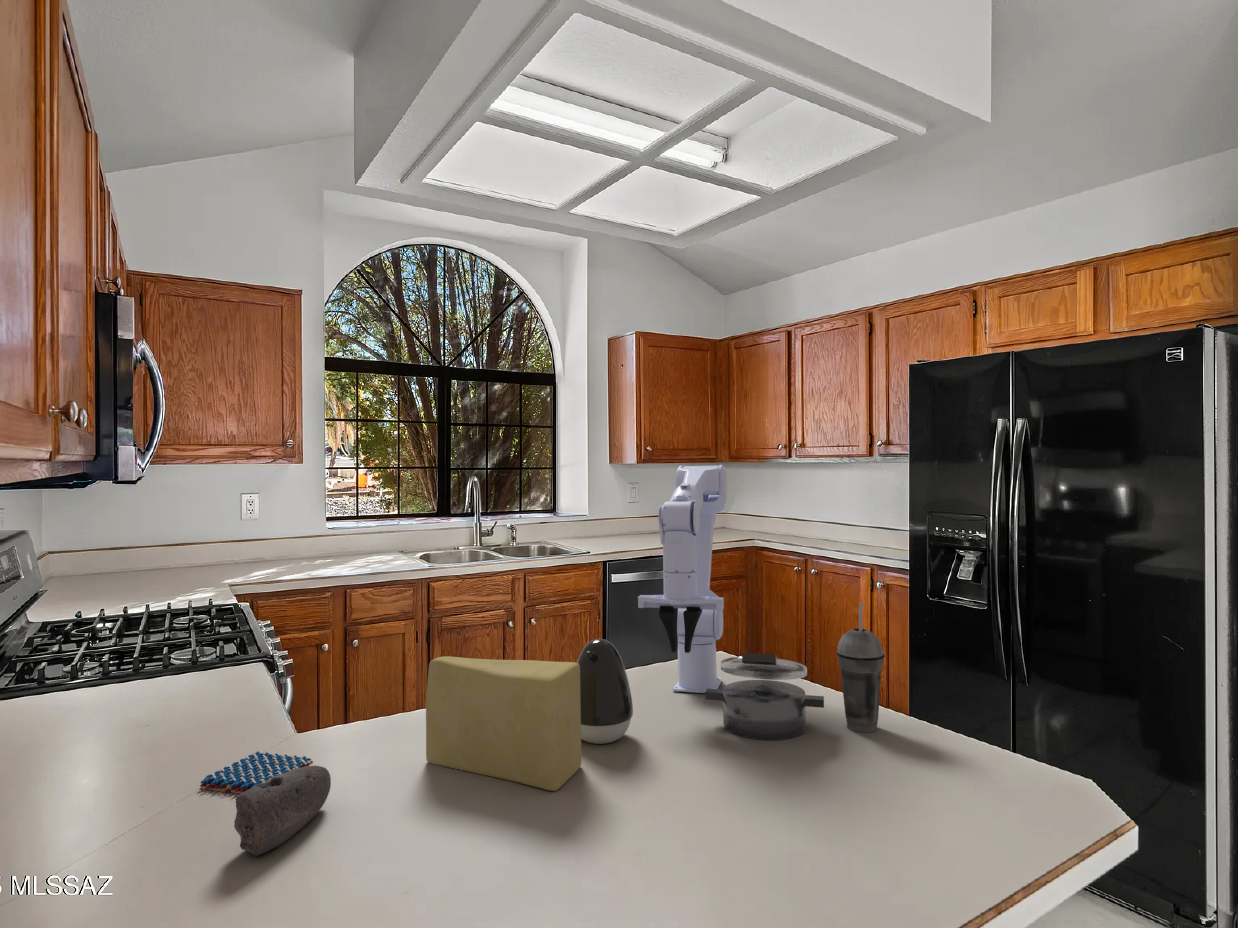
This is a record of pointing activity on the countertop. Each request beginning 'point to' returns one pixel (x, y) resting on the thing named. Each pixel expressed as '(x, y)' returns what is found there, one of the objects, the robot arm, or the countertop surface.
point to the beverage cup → (861, 677)
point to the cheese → (505, 718)
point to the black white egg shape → (603, 693)
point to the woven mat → (252, 772)
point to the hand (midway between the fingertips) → (681, 651)
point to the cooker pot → (764, 708)
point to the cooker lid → (763, 667)
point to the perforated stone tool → (280, 807)
